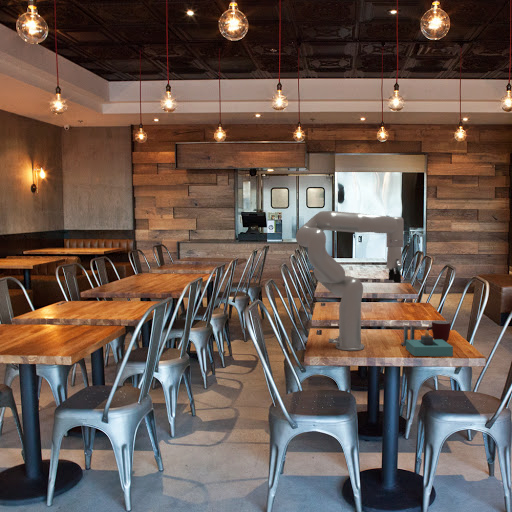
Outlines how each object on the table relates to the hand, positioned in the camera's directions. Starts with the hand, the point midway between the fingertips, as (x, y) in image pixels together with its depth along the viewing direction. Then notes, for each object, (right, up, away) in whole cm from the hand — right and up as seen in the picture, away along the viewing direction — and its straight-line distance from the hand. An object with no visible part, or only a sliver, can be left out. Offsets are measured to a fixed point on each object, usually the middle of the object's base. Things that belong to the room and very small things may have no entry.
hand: (394, 281), depth 266 cm
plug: (+9, -30, -18) cm, 36 cm away
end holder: (+10, -30, -18) cm, 36 cm away
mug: (+19, -29, -2) cm, 34 cm away
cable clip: (+5, -29, -5) cm, 30 cm away
